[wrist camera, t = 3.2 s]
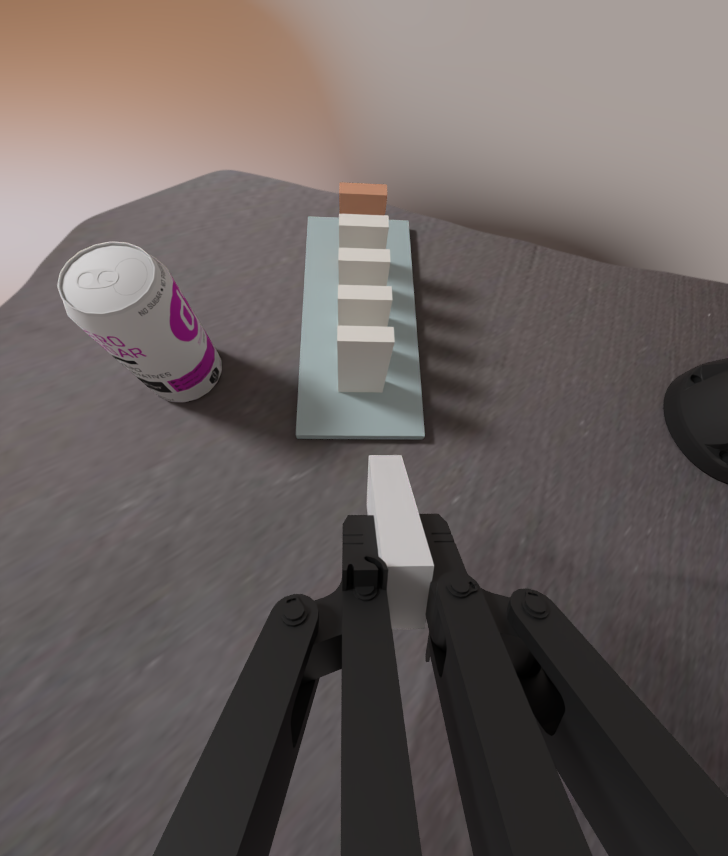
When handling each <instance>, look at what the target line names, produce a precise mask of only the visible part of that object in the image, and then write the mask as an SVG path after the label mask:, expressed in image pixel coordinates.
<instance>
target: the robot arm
mask: <svg viewBox="0 0 728 856" xmlns="http://www.w3.org/2000/svg"><path fill="white" fill-rule="evenodd" d="M664 416H665V420H666V424H667V427H668V429H669V432H670V434H671V436H672V438H673V439H674V441H675V443H676V444H677V446H678V447H679V448H680V450H681V451H682V452H683V453H684V454H685V456H686V457H687V458H688V459H689V460H690V461H691V462H693V463H694V464H695V465H696V466H697V467H698V468H700V469H701V470H702V471H704V472H705V473H707V474H709V475H710V476H712V477H714V478H716V479H718V480H720V481H722V482H725V483H728V358H726V359H722V360H717V361H712V362H708V363H705V364H702V365H699V366H697V367H695V368H693V369H691V370H689V371H687V372H685V373H684V374H682V375H680V376H679V377H677V378H676V379H675V380H674V381H673V382H672V383H671V384H670V386H669V387H668V389H667V391H666V394H665V398H664ZM367 511H368V515H348V516H347V518H346V520H345V521H344V523H343V558H342V581H341V583H340V585H339V587H338V588H337V589H336V591H334V592H333V593H332V594H330V595H328V596H326V597H324V598H321V599H318V600H315V601H313V600H312V599H311V598H310V597H308V596H305V595H303V594H293V595H290V596H287V597H284V598H283V599H281V600H280V601H278V602H277V603H276V605H275V606H274V607H273V609H272V610H271V612H270V615H269V617H268V619H267V621H266V623H265V625H264V627H263V629H262V631H261V633H260V635H259V637H258V639H257V641H256V643H255V645H254V648H253V650H252V652H251V654H250V656H249V658H248V660H247V662H246V664H245V666H244V668H243V670H242V672H241V674H240V676H239V679H238V681H237V683H236V685H235V687H234V689H233V691H232V693H231V695H230V697H229V699H228V701H227V703H226V705H225V707H224V709H223V712H222V714H221V716H220V718H219V720H218V722H217V724H216V726H215V728H214V730H213V732H212V734H211V736H210V738H209V740H208V743H207V745H206V747H205V749H204V751H203V753H202V755H201V757H200V759H199V761H198V763H197V765H196V767H195V769H194V771H193V773H192V776H191V778H190V780H189V782H188V784H187V786H186V788H185V790H184V792H183V794H182V796H181V798H180V800H179V802H178V804H177V807H176V809H175V811H174V813H173V815H172V817H171V819H170V821H169V823H168V825H167V827H166V829H165V831H164V833H163V835H162V837H161V840H160V842H159V844H158V846H157V848H156V850H155V852H154V854H153V856H269V852H270V849H271V845H272V842H273V838H274V835H275V831H276V828H277V824H278V821H279V817H280V814H281V811H282V807H283V804H284V800H285V797H286V793H287V790H288V786H289V783H290V779H291V776H292V772H293V769H294V765H295V762H296V758H297V755H298V751H299V748H300V744H301V741H302V737H303V734H304V731H305V727H306V724H307V720H308V717H309V713H310V710H311V706H312V703H313V699H314V696H315V692H316V689H317V685H318V682H319V678H320V677H322V676H325V675H327V674H330V673H332V672H334V671H337V670H339V669H342V721H341V856H422V853H421V845H420V838H419V830H418V823H417V815H416V808H415V800H414V792H413V785H412V777H411V770H410V762H409V755H408V747H407V740H406V732H405V724H404V717H403V709H402V702H401V694H400V687H399V679H398V672H397V664H396V656H395V649H394V641H393V634H392V629H425V622H426V619H427V623H428V628H429V636H428V643H427V649H426V662H429V660H430V657H431V661H432V666H433V670H434V675H435V680H436V684H437V689H438V694H439V698H440V703H441V707H442V712H443V717H444V721H445V726H446V731H447V735H448V740H449V744H450V749H451V754H452V758H453V763H454V768H455V772H456V777H457V782H458V786H459V791H460V795H461V800H462V805H463V809H464V814H465V819H466V823H467V828H468V832H469V837H470V842H471V846H472V851H473V856H592V854H591V851H590V849H589V846H588V844H587V842H586V839H585V837H584V834H583V832H582V830H581V827H580V825H579V822H578V820H577V818H576V815H575V813H574V810H573V808H572V806H571V803H570V801H569V798H568V796H567V794H566V791H565V789H564V786H563V784H562V782H561V779H560V777H559V774H560V776H561V777H562V779H563V781H564V782H565V784H566V786H567V787H568V789H569V791H570V792H571V794H572V796H573V797H574V799H575V801H576V802H577V804H578V806H579V807H580V809H581V810H582V812H583V814H584V815H585V817H586V819H587V820H588V822H589V824H590V825H591V827H592V829H593V830H594V832H595V834H596V835H597V837H598V839H599V840H600V842H601V844H602V845H603V847H604V848H605V850H606V852H607V853H608V855H609V856H728V798H727V797H726V796H725V794H724V793H723V792H722V791H721V790H720V789H719V788H718V787H717V785H716V784H715V783H714V782H713V781H712V780H711V779H710V778H709V776H708V775H707V774H706V773H705V772H704V771H703V770H702V769H701V768H700V766H699V765H698V764H697V763H696V762H695V761H694V760H693V759H692V757H691V756H690V755H689V754H688V753H687V752H686V751H685V750H684V748H683V747H682V746H681V745H680V744H679V743H678V742H677V741H676V739H675V738H674V737H673V736H672V735H671V734H670V733H669V732H668V731H667V729H666V728H665V727H664V726H663V725H662V724H661V723H660V722H659V720H658V719H657V718H656V717H655V716H654V715H653V714H652V713H651V711H650V710H649V709H648V708H647V707H646V706H645V705H644V704H643V702H642V701H641V700H640V699H639V698H638V697H637V696H636V695H635V693H634V692H633V691H632V690H631V689H630V688H629V687H628V686H627V685H626V683H625V682H624V681H623V680H622V679H621V678H620V677H619V676H618V674H617V673H616V672H615V671H614V670H613V669H612V668H611V667H610V665H609V664H608V663H607V662H606V661H605V660H604V659H603V658H602V656H601V655H600V654H599V653H598V652H597V651H596V650H595V649H594V648H593V646H592V645H591V644H590V643H589V642H588V641H587V640H586V639H585V637H584V636H583V635H582V634H581V633H580V632H579V631H578V630H577V628H576V627H575V626H574V625H573V624H572V623H571V622H570V621H569V619H568V618H567V617H566V616H565V615H564V614H563V613H562V612H561V611H560V609H559V608H558V607H557V606H556V605H555V604H554V603H553V602H552V601H551V600H550V599H549V598H548V597H546V596H545V595H543V594H541V593H539V592H538V591H535V590H531V589H518V590H517V591H515V592H513V594H512V595H511V597H510V598H509V597H506V596H502V595H498V594H494V593H491V592H488V591H485V590H484V589H482V588H480V586H479V585H478V583H477V582H476V581H475V580H474V579H473V578H472V577H470V576H469V575H468V574H467V572H466V569H465V567H464V564H463V562H462V559H461V557H460V554H459V552H458V549H457V547H456V544H455V543H454V539H453V536H452V535H451V531H450V529H449V526H448V524H447V522H446V521H445V520H444V519H443V518H442V517H441V516H440V515H439V514H419V513H418V510H417V506H416V503H415V499H414V496H413V493H412V489H411V486H410V483H409V479H408V476H407V473H406V469H405V466H404V462H403V459H402V456H401V455H369V464H368V488H367ZM556 769H557V770H556ZM557 771H558V772H559V774H558V772H557Z"/></svg>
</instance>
